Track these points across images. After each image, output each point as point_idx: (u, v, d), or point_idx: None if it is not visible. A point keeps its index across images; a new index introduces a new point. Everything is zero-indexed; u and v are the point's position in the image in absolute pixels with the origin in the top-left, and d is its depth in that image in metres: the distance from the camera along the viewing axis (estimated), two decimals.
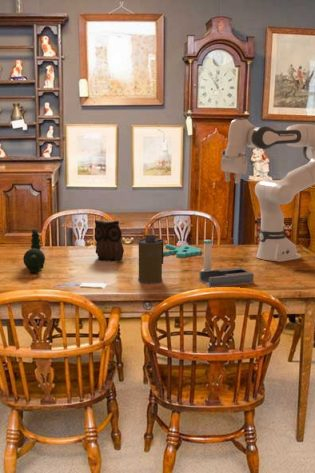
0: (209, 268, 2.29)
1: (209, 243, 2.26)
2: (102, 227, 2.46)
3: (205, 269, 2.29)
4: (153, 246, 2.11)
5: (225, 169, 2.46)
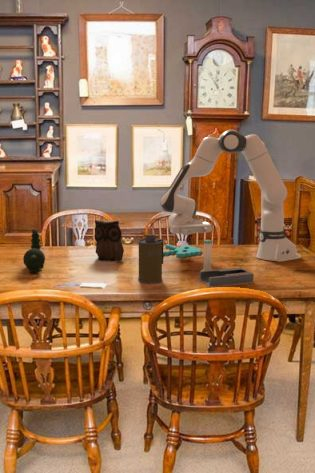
0: (209, 268, 2.29)
1: (209, 243, 2.26)
2: (102, 227, 2.46)
3: (205, 269, 2.29)
4: (153, 246, 2.11)
5: None
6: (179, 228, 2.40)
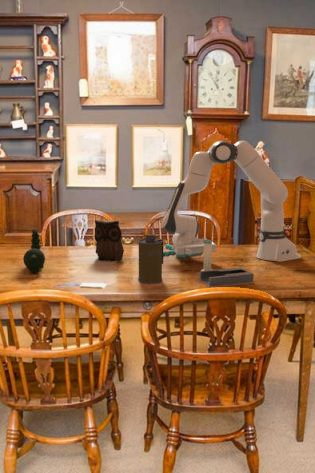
0: (209, 268, 2.29)
1: (209, 243, 2.26)
2: (102, 227, 2.46)
3: (205, 269, 2.29)
4: (153, 246, 2.11)
5: None
6: (183, 249, 2.38)
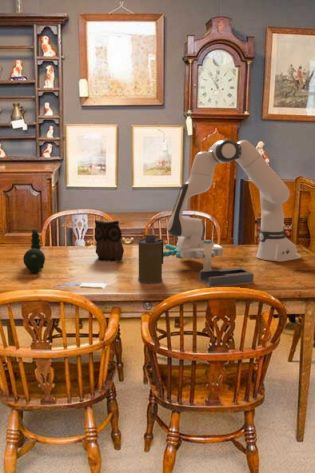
0: (209, 268, 2.29)
1: (209, 243, 2.26)
2: (102, 227, 2.46)
3: (205, 269, 2.29)
4: (153, 246, 2.11)
5: None
6: (190, 252, 2.30)
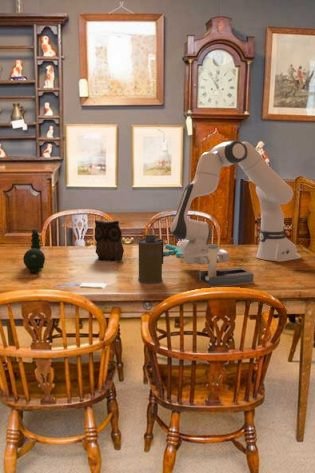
0: (214, 275, 2.13)
1: (214, 248, 2.11)
2: (102, 227, 2.46)
3: (210, 276, 2.14)
4: (153, 246, 2.11)
5: None
6: (193, 258, 2.15)
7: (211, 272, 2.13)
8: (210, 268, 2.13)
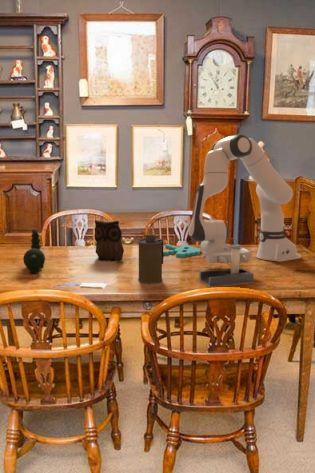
0: None
1: (237, 248, 2.14)
2: (102, 227, 2.46)
3: None
4: (153, 246, 2.11)
5: None
6: (216, 257, 2.18)
7: (234, 272, 2.17)
8: (233, 268, 2.16)
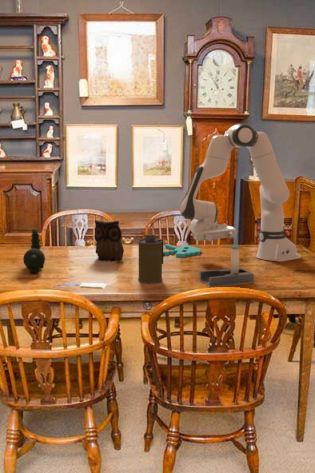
0: None
1: (237, 248, 2.14)
2: (102, 227, 2.46)
3: None
4: (153, 246, 2.11)
5: None
6: (203, 234, 2.31)
7: (234, 272, 2.17)
8: (233, 268, 2.16)
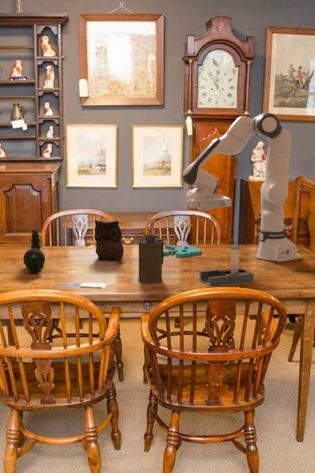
0: None
1: (236, 248, 2.14)
2: (102, 227, 2.46)
3: None
4: (153, 246, 2.11)
5: (221, 206, 2.38)
6: (198, 202, 2.32)
7: (234, 272, 2.17)
8: (233, 268, 2.16)
